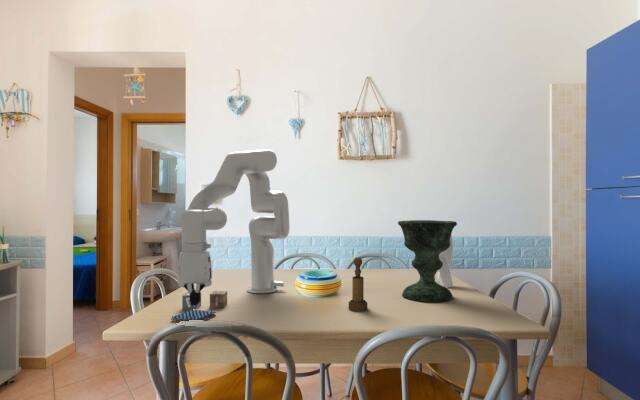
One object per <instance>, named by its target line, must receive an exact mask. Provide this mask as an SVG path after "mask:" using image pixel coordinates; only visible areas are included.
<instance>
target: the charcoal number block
mask: <svg viewBox="0 0 640 400" xmlns="http://www.w3.org/2000/svg"><path fill="white" fill-rule="evenodd" d="M200 294H201V295H202V291H200ZM181 298H182V299H181V300H182V307H181V308H182V309H181V310H182V311H185V310H184V309H189V310H191V309H197V310H199V309H200V308H201V307H202V299H201V300H200V302H199V304H197V305H191V302H190V293H189V292H188V291H187V292H185V293H184V294H183V295H182V296H181ZM189 310H188V311H189Z"/></svg>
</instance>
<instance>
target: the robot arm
mask: <svg viewBox="0 0 640 400" xmlns="http://www.w3.org/2000/svg"><path fill="white" fill-rule="evenodd" d="M277 161H278V158H277V155H276V153H275V152H274V151H273V150H271V149H256V150H255V149H253V150H252V149H251V150H250V149H249V150H244V151H243V150H241V151H234V152H233V151H232V152H229V153H228V154H227V155H225V157H224V159H223V162H222V164H221V165H220V168H219V170H218V171H217V174H216V176H215V178H214V179H213V181H212V182H211V183H208V185H206V186H205V187H204V188H203V189H201V190H200V191H199V192H198V193H197V194H196V195H195V196H194V197H193V199H192V200H191V201H190V203H189V206H188V208H187V209H185V210H183V211H182V212H181V217H180V218H181V221H180V222H181V252H179V257H178V261H177V262H178V263H177V282H178V283H177V286H178V287H180V288H185V290H186V291H187V292H189V293H190V302H191V305H197V304H199V302H200V300H201V301H202V293H201V294H200V292H202V290H203V289H204V288H207V287H211V286H212V285H213V282H212V279H213V266H212V259H211V253H210V250H208V249H211V247H212V246H211V245H212V244H210V243H208V242H207V231H218V230H221V229H223V228H224V227H225V226H226V224H227V222H228V217H227V214H226V212H225V211H224V210H223V209H221V208H218V207H210V206H211V205H213V204H214V203H216V202H217V201H220V200H223V199H225V198H227V197H229V196H231V195H234V193H235V192H236V191H237V189H238V186H239V184H240V182H241V180H242V177H243V176H244V175H245V176H246V177H247V180H248V183H249V192H250V193H249V194H250V205H251V206H250V207H251V210H252V211H253V212H254V213H256V214H273V216H270V215H268V216H265V215H262V216H259V215H258V216H255V217H254V218H251V219H250V221H249V223H248V231H249V232H248V233H249V238H250V249H251V251H250V254H251V255H250V259H251V260H250V261H251V262H250V270H251V271H250V272H251V273H250V278H251V279H250V280H251V281H250V286H249V287H247V292H249V293H251V294H268V293H269V294H270V293H274V292H276V291H278V287H280V288H281V287H283V288H284V287H285V282H284V281H281V280H280V281H277V280H276V278H275V275H274V274H275V273H274V263H275V259H274V254H275V253H274V251H275V250H274V246H273V243H272V242H271V240H283V239H286V238H287V237H289V234H290V213H289V212H290V211H289V210H290V209H289V200H288V197H287V195H286V193H284V192H283V191H280V190H271V184H270V183H271V182H270V177H269V175H268V174H267V172H270V171H273V170H274V169H275V168H276V166H277V163H278V162H277ZM195 285H196V286H195Z"/></svg>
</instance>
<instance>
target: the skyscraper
mask: <svg viewBox="0 0 640 400" xmlns="http://www.w3.org/2000/svg"><path fill="white" fill-rule="evenodd" d="M453 254H454V244H453V236H452V234H451V237H450V247H449V248H448V249H447V250H445V251H443V252H441V253H440V254H439V259H440V261H442V263H443V265H442V268H441V269H440V270H438V271H437V276H436V277H437V278H436V277H435V276H434V280H435V282H436V283H437V284H439V285H441V286H444V287H449V288H453V287H454V284H453V279H452V274H451V270H450V269H451V266H452V262H453V261H452V260H453V256H454V255H453ZM452 286H453V287H452Z"/></svg>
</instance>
